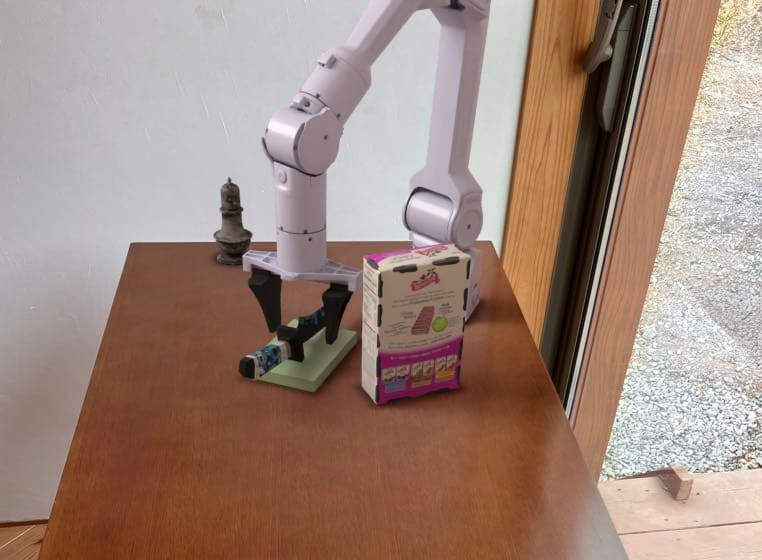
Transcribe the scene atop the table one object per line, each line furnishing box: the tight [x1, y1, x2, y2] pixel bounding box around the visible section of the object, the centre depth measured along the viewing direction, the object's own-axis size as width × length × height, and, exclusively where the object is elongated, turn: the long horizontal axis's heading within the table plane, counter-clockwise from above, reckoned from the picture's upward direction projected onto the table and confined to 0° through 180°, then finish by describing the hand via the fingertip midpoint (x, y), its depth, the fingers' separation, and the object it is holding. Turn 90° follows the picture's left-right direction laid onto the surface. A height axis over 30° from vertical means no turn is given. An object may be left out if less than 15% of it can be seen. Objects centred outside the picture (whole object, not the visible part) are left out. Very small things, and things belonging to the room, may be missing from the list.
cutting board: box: [256, 318, 358, 393], centre depth 111 cm, size 9×14×2 cm, turn 159°
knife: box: [237, 297, 352, 382], centre depth 109 cm, size 31×3×4 cm, turn 154°
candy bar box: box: [361, 242, 471, 406], centre depth 101 cm, size 11×5×16 cm, turn 114°
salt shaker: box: [212, 176, 254, 266], centre depth 131 cm, size 6×6×12 cm
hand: (303, 335), depth 109 cm, fingers open, 7 cm apart
